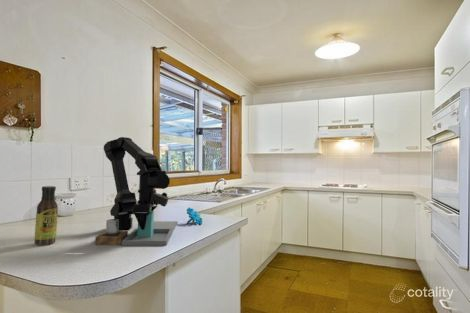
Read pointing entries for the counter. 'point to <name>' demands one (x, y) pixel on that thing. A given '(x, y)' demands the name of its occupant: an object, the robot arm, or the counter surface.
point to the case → (158, 238)
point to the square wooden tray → (110, 238)
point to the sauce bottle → (46, 217)
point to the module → (147, 226)
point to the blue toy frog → (194, 216)
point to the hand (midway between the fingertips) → (145, 226)
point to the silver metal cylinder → (112, 227)
